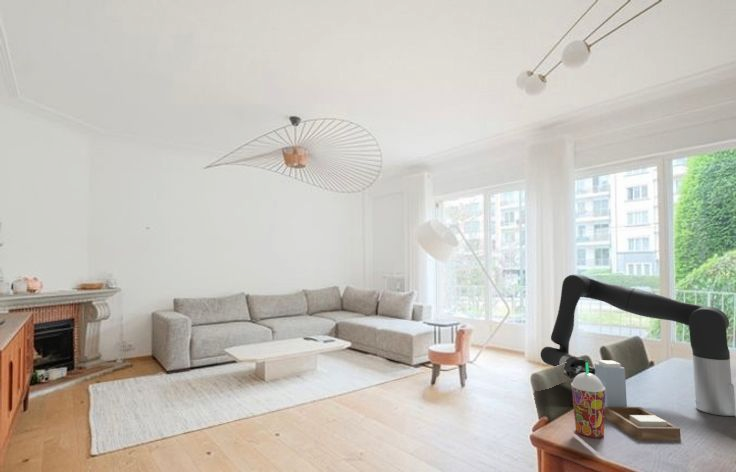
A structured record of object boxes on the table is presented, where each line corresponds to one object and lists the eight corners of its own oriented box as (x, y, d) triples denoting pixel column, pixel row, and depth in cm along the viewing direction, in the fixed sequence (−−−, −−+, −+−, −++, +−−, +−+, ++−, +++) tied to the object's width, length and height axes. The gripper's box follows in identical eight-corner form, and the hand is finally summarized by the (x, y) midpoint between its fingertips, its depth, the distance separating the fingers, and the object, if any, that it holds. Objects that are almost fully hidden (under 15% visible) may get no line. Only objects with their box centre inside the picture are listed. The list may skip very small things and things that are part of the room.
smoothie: (566, 431, 112) (564, 359, 113) (594, 430, 113) (591, 359, 114) (585, 444, 104) (582, 367, 105) (615, 443, 104) (611, 366, 106)
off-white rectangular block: (630, 429, 110) (629, 415, 111) (655, 429, 110) (654, 415, 110) (641, 436, 106) (640, 421, 106) (667, 436, 106) (666, 421, 106)
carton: (597, 410, 128) (594, 359, 129) (615, 410, 128) (613, 359, 129) (607, 417, 122) (605, 364, 123) (627, 417, 122) (624, 364, 123)
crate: (603, 420, 120) (603, 406, 120) (640, 420, 120) (639, 406, 120) (638, 443, 104) (638, 428, 104) (681, 444, 104) (680, 428, 104)
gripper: (554, 356, 149) (576, 367, 133) (592, 356, 149) (618, 367, 133) (555, 376, 149) (577, 389, 132) (593, 376, 148) (619, 390, 132)
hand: (598, 378), depth 133 cm, fingers open, 8 cm apart
